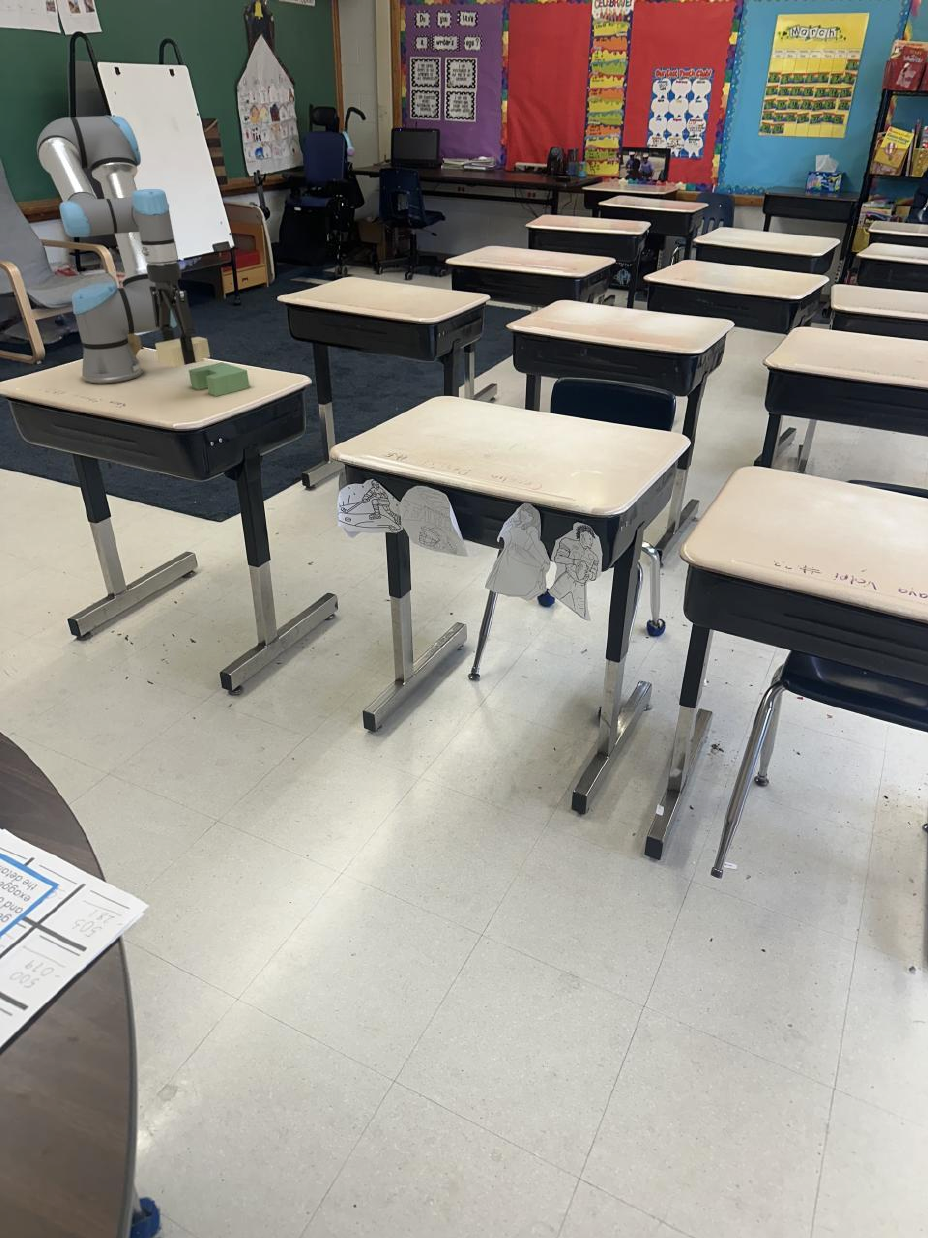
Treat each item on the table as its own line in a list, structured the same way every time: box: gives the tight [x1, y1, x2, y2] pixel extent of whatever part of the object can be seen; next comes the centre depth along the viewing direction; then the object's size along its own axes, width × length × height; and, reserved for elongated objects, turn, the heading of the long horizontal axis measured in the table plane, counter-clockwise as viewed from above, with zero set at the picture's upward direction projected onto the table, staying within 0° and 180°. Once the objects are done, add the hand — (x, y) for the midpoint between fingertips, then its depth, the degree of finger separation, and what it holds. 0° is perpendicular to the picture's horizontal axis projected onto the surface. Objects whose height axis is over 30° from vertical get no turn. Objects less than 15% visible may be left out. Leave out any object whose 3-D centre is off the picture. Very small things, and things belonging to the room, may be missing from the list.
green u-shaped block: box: [188, 361, 250, 397], centre depth 223 cm, size 12×10×4 cm
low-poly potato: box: [127, 333, 146, 357], centre depth 247 cm, size 15×11×12 cm
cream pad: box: [154, 336, 211, 368], centre depth 213 cm, size 8×11×4 cm
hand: (181, 360), depth 213 cm, fingers closed on cream pad, 8 cm apart
